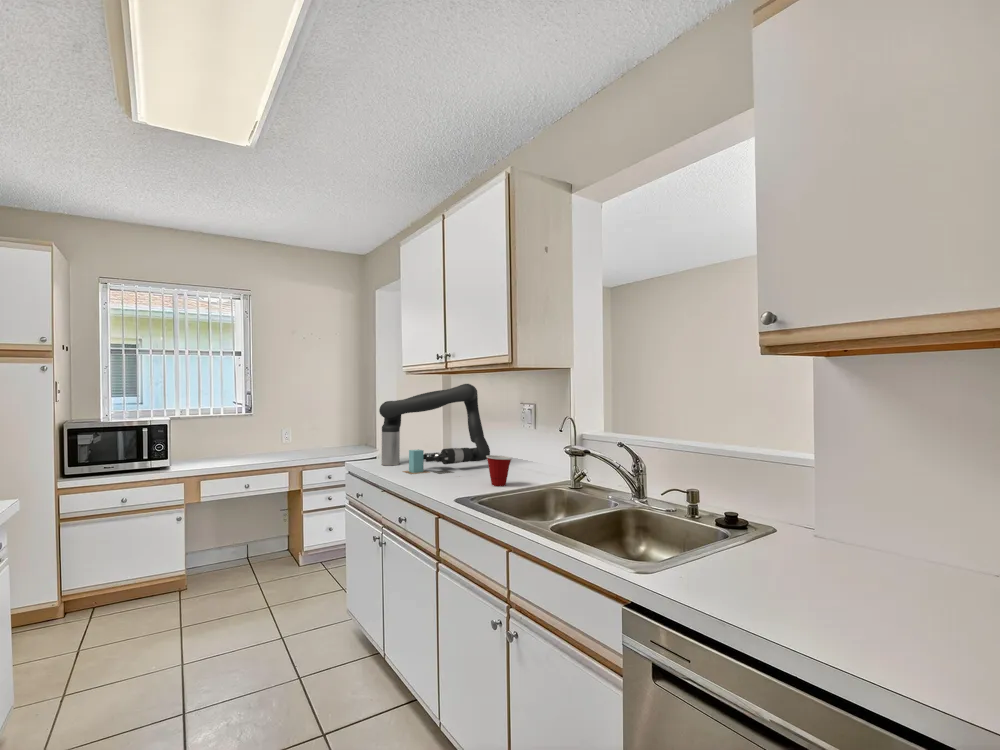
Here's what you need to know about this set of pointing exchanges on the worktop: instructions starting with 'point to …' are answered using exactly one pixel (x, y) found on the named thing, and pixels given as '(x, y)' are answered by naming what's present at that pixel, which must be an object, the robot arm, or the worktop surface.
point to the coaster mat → (443, 472)
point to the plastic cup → (498, 469)
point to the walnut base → (416, 473)
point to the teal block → (416, 461)
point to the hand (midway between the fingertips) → (422, 458)
